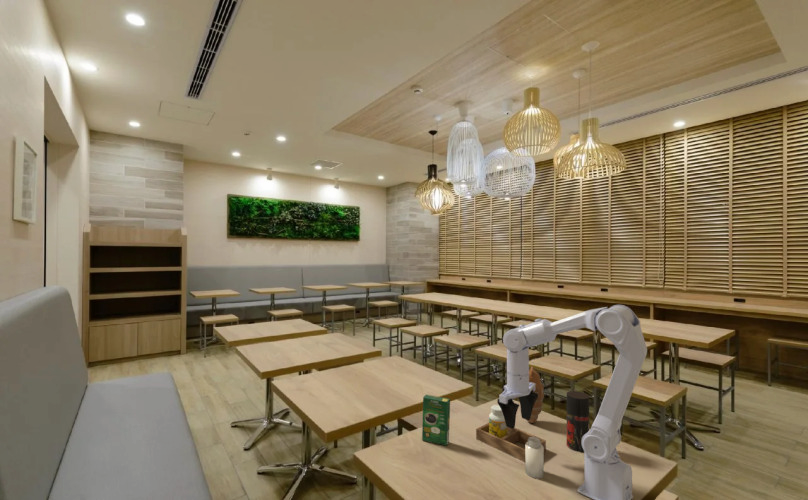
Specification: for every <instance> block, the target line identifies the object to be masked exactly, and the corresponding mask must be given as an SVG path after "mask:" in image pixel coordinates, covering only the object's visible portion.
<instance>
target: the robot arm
mask: <svg viewBox="0 0 808 500" xmlns="http://www.w3.org/2000/svg"><path fill="white" fill-rule="evenodd" d="M582 328H583V329H584V328H586V329H589V330H591V331H593V332H596V331H597V330H598V331H599V332H600V333H601V334H602V335H603V336H604V337H605V338H607V339H608V340H609V341H610V342H612V343H613V345H614V347H615V348H616V350H617V351H618V352H619V355H618V357H617V361H616V363H615V366H614V369H613V372H612V374H611V376H610V380H609V382H608V385H607V388H606V390H605V393H604V396H603V399H602V401H601V404H600V407H599V409H598V413H597V415H596V417H595V419H594V421H593V423H592V424H591V427H590V428H589V431H588V432H587V433H586V434H585V435H584V436H583V437H582V441H581V443H582V448H583V450H584V452H583V453H584V454H583V455H584V456H583V457H584V458H583V459H584V464H583V465H584V466H583V467H584V468H583V470H584V477H583V478H584V483H582V484H581V485H580V486H579V487H578V488H577V490H576V491H577V492H578V493H579V494H582V495H583V496H585V497H588V498H590V499H592V500H631V499H632V500H633V498H634V495H633V469H632V466H631V465H630V464H629V463H626V462H624V461H623V460H621V458H620V455H619V452H618V450H617V447H618V445H619V444H620V443H621V441H622V436H621V435H622V434H621V427H622V421H623V417H624V415H625V413H626V410H627V408H628V404H629V402H630V399H631V396H632V394H633V392H634V389H635V387H636V384H637V381H638V379H639V376H640V372H641V370H642V368H643V365H644V362H645V359H646V357H647V355H648V347H647V344H646V341H645V337H644V334H643V331H642V327H641V320H640V319H639V317H638V316H637V314H635V312H634V311H633V310H632V309H631V308H630V307H629V306H626V305H623V304H614V305H611V306H610V307H609V308H608V306H605V307H598V308H591V309H588V310H585V311H582V312H580V313H576V314H573V315H571V316H568V317H564V318H562V319H558V320H556V321H550V319H549V320H548V319H547V318H544V319H542V318H541V317H540V318H537V319H534V322H531V323H529V324H525V323H523V324H519V325H518V327H515V328H511V329H509V330H508V331H506V332H505V333H504V334H503V337H502V342H503V345H504V346H505V349H506V384H505V385H503V391H502V393H500V394H499V398H497V405H499V406H500V408H501V410H502V412H503V415H504V419H505V423H506V426H507V427H509V428H511V429H514V428H516V418H517V413H518V409H519V407H520V415H521V418H522V419H524V420H526V421H527V420H530V417H531V413H532V409H533V406H534V403H535V401H536V399H537V398H538V394H537V393H534V392H533V391H535V384H534V383H531V382H529V370H530V355H529V353H530V352H529V351H530V350H529V348H533V347H536V346H540V345H543V344H547V343H550V342H554V341H555V339H556V337H557V335H559V334H564V333H567V332H571V331H575V330H579V329H582ZM516 398H518V401H519V403H516V402H515V401H513V400H514V399H516Z"/></svg>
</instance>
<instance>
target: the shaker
mask: <svg viewBox="0 0 808 500" xmlns="http://www.w3.org/2000/svg"><path fill="white" fill-rule="evenodd" d="M536 437H537V436H536ZM536 437H529V438H528V442H527V443H526V444H525V443H524V444H525V445H524V446H525V447H524V449H525V462H524V463H525V464H524V465H525V468H524V469H525V470H524V471H525V474H526V475H527V476H528V477H529V478H533V479H542V478H543V477H544V472H545V470H544V469H545V468H544V467H545V466H544V465H545V464H544V460H545V459H544V458H545V456H544V453H545V452H544V447H543V445H542V444H541V440H540V439H539V438H540V437H539V438H536Z"/></svg>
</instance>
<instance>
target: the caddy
mask: <svg viewBox="0 0 808 500" xmlns="http://www.w3.org/2000/svg"><path fill="white" fill-rule="evenodd" d="M475 434H476V435H475V436H476V437H475V438H476V440H477V441H480V442H481V443H484V444H486V445H488V446H490V447H492V448H495V449H497V450H499V451H501V452H503V453H505V454H507V455H510V456H512V457H513V458H516V459H518V460H520V461H522V462H524V463H525V447H524V448H523V447H521V446H519V445H517V444H516V443H517V442H521V443H523V444H526V443H527V442H528V438H529V437H536V438H539V439H540V440H541V444H542V445H543V447H544V453H545V452H546V451H547V440H546V439H543V438H541V437H539V436H537V435H534V434H531V433H528V432H526V431H524V430H521V429H519V428H516V427H514V429H511V428H509V427H507V435H506V436H504V437H503V438H499V437H497V436H494V435H492V434H490V433H489V422H488V423H486V424H483V425H481V426H480V427H478V428H476V429H475Z"/></svg>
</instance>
